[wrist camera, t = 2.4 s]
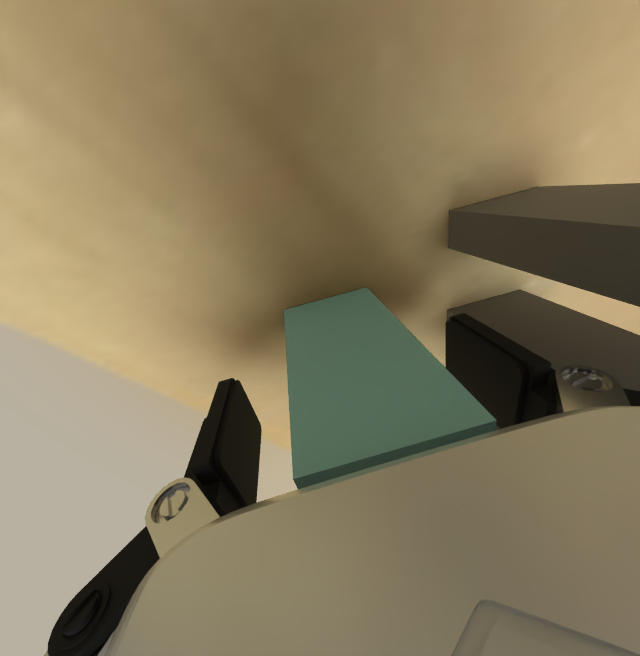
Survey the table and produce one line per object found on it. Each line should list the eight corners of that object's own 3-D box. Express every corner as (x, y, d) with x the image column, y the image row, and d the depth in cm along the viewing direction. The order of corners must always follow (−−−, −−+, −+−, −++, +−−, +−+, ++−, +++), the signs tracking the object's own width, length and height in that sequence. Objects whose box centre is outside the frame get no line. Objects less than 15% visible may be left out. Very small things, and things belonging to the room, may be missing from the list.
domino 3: (447, 309, 16) (644, 441, 8) (520, 289, 16) (797, 396, 8) (446, 335, 17) (620, 479, 9) (515, 316, 17) (757, 438, 9)
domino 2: (449, 210, 13) (768, 238, 5) (537, 186, 14) (1012, 170, 5) (448, 248, 14) (712, 328, 6) (531, 225, 15) (915, 271, 6)
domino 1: (283, 309, 15) (293, 479, 6) (366, 287, 15) (496, 420, 6) (293, 338, 16) (313, 520, 7) (370, 317, 16) (488, 469, 7)
